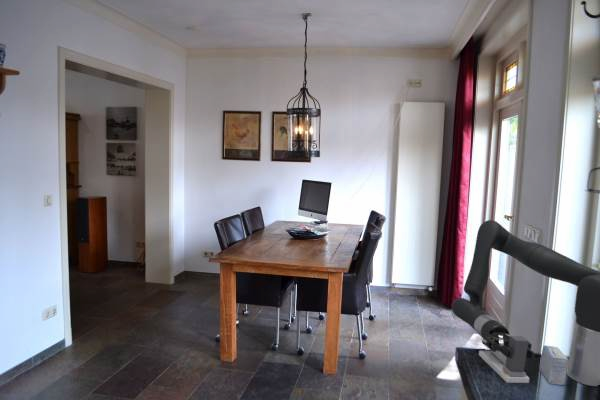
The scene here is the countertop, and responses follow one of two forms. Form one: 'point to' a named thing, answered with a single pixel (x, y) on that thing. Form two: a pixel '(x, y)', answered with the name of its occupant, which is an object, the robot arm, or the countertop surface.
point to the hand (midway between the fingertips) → (522, 355)
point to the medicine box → (553, 365)
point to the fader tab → (516, 356)
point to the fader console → (498, 362)
